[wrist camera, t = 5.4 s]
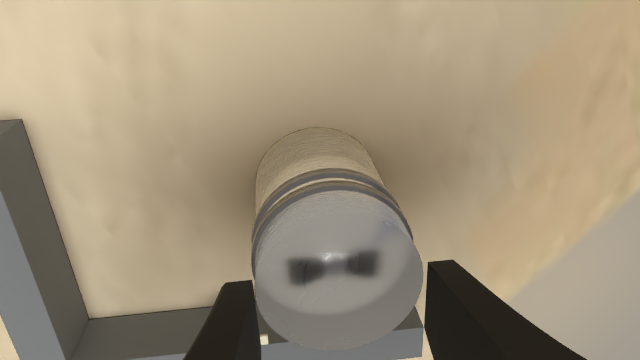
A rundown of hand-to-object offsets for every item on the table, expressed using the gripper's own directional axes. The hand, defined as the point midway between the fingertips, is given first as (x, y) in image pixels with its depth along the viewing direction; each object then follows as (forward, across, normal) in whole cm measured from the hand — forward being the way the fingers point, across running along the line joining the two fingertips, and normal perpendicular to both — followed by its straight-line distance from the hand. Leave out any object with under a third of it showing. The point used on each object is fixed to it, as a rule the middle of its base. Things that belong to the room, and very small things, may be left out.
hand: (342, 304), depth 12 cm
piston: (+7, 0, 0) cm, 7 cm away
